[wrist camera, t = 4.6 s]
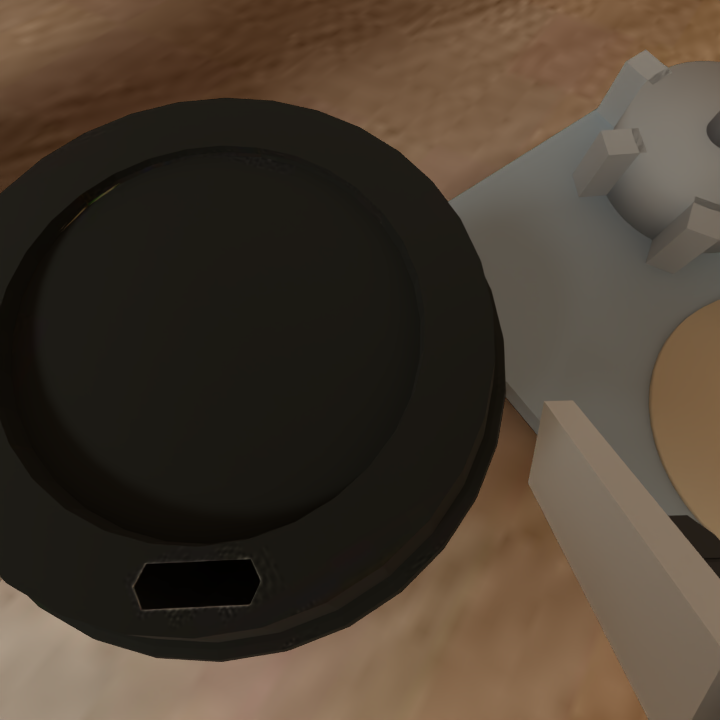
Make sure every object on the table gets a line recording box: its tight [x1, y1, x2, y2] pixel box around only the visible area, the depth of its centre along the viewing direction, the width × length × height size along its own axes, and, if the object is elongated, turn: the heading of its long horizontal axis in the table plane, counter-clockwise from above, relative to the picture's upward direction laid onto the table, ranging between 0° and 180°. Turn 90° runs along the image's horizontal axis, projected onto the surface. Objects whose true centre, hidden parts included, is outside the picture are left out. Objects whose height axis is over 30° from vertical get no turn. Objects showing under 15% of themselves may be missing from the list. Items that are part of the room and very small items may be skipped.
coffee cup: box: [0, 98, 506, 662], centre depth 14 cm, size 10×10×15 cm
